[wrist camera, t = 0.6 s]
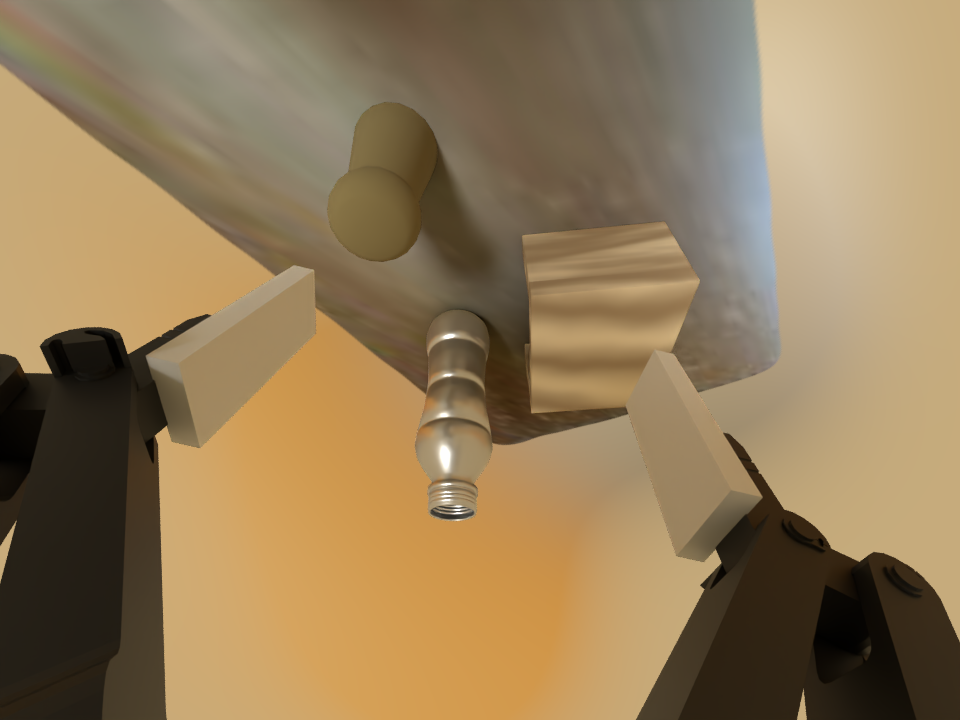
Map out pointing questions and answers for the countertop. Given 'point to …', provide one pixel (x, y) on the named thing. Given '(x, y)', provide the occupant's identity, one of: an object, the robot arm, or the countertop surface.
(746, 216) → the countertop surface
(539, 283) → the birch shelf
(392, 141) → the cork
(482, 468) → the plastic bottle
